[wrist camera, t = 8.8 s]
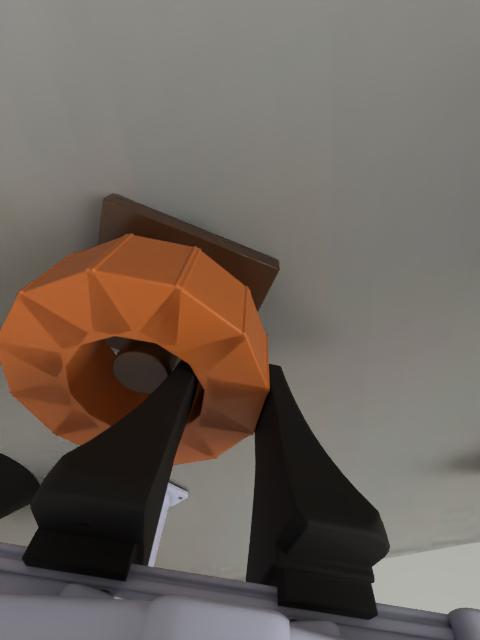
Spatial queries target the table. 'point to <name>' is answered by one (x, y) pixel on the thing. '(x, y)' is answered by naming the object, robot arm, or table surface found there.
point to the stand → (133, 218)
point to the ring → (139, 324)
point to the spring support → (15, 486)
